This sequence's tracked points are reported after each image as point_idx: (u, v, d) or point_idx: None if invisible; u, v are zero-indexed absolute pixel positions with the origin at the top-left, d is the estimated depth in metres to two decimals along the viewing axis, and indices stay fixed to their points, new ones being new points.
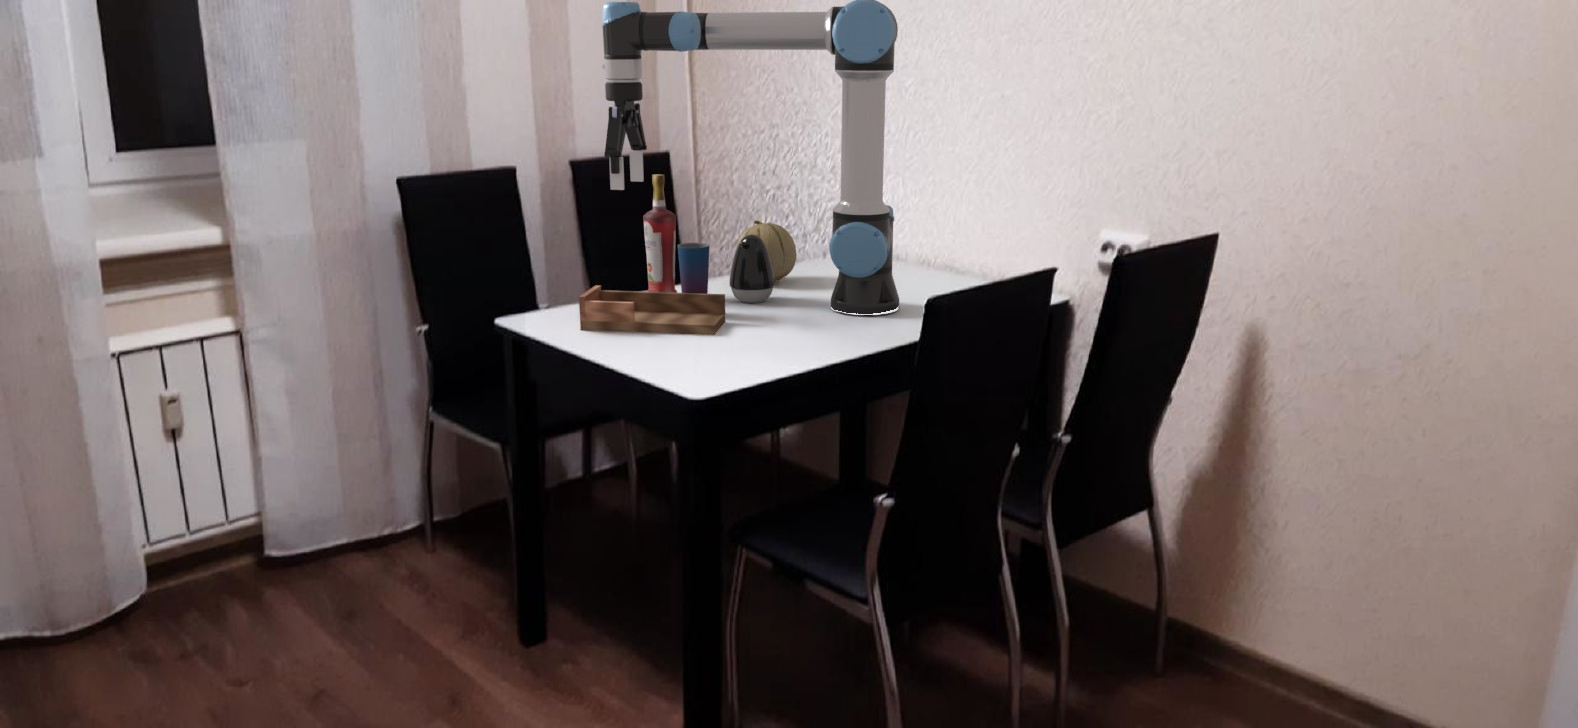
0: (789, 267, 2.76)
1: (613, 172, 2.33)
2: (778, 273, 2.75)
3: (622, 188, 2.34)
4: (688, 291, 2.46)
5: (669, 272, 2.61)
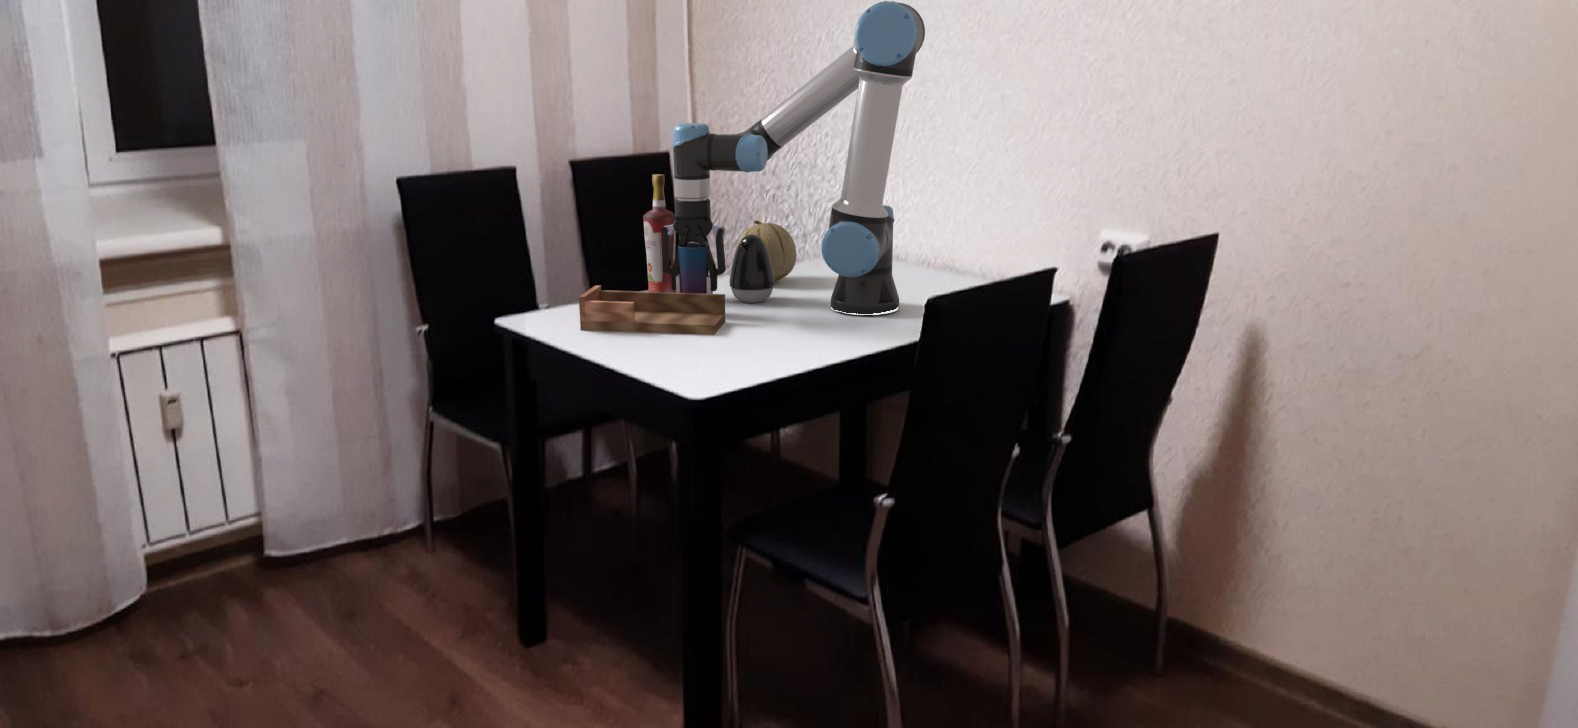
0: (789, 267, 2.76)
1: None
2: (778, 273, 2.75)
3: None
4: (688, 291, 2.46)
5: None
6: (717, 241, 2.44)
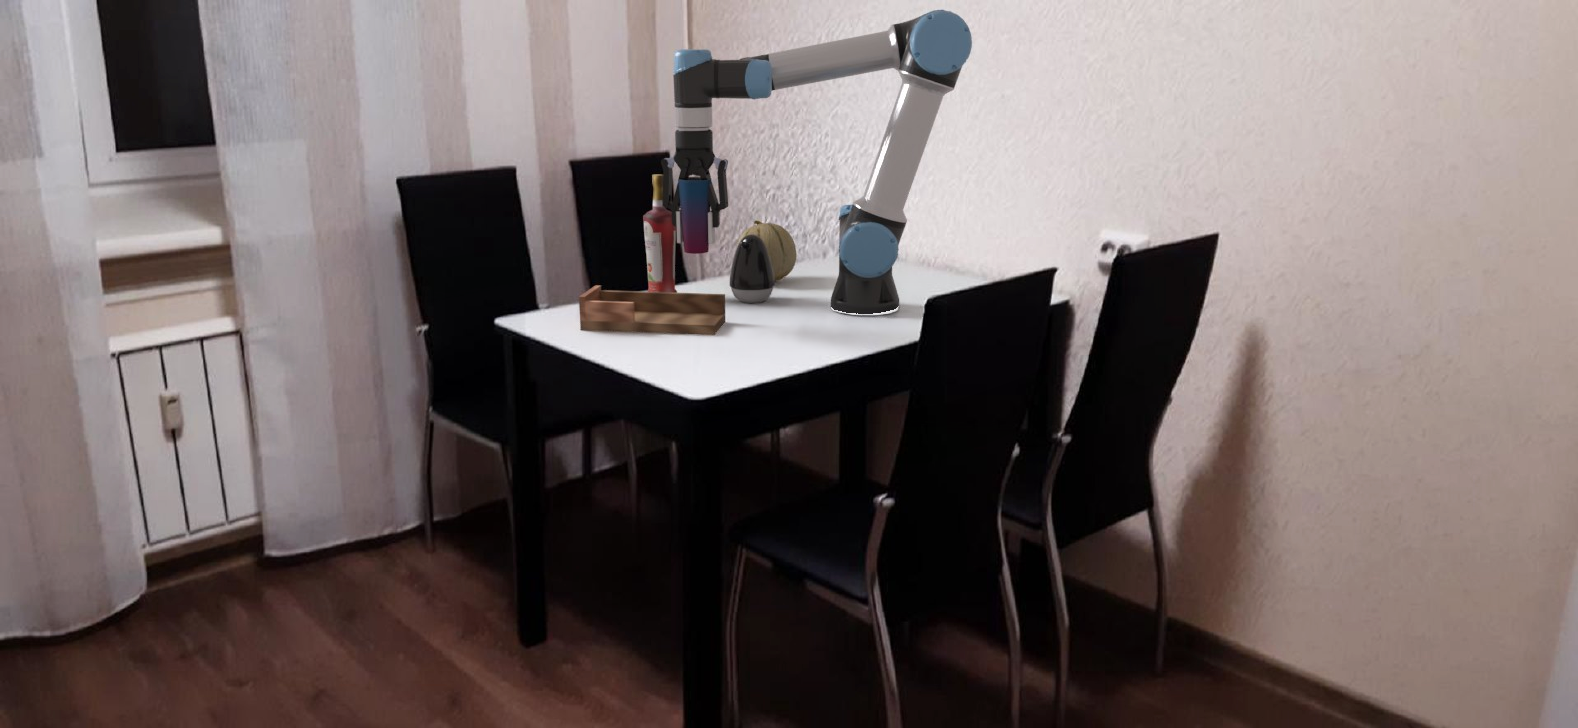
0: (789, 267, 2.76)
1: None
2: (778, 273, 2.75)
3: (677, 241, 2.38)
4: (688, 227, 2.35)
5: (669, 272, 2.61)
6: (719, 174, 2.32)
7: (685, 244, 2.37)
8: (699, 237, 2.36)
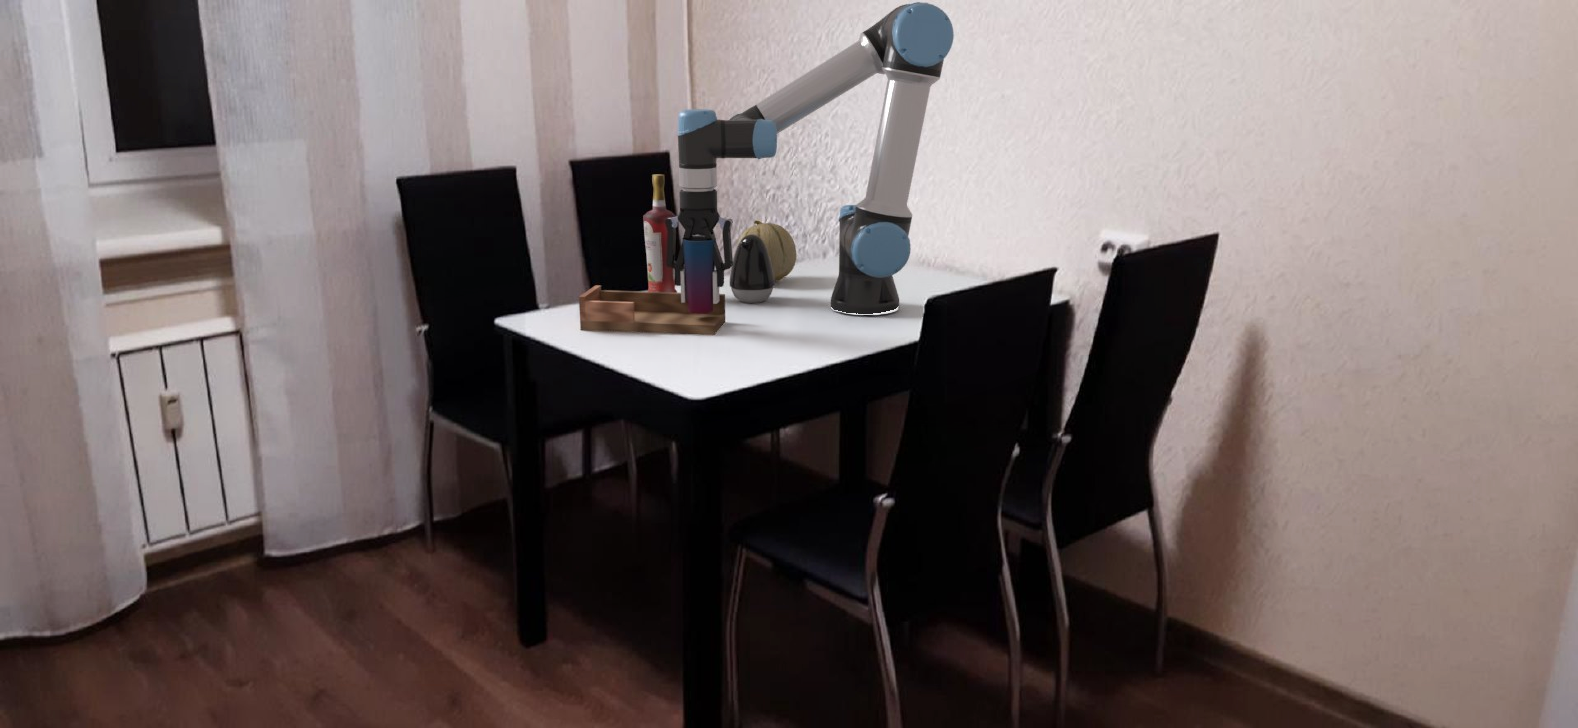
0: (789, 267, 2.76)
1: None
2: (778, 273, 2.75)
3: (681, 300, 2.36)
4: (693, 287, 2.33)
5: (669, 272, 2.61)
6: (724, 234, 2.31)
7: (689, 304, 2.35)
8: (704, 297, 2.34)
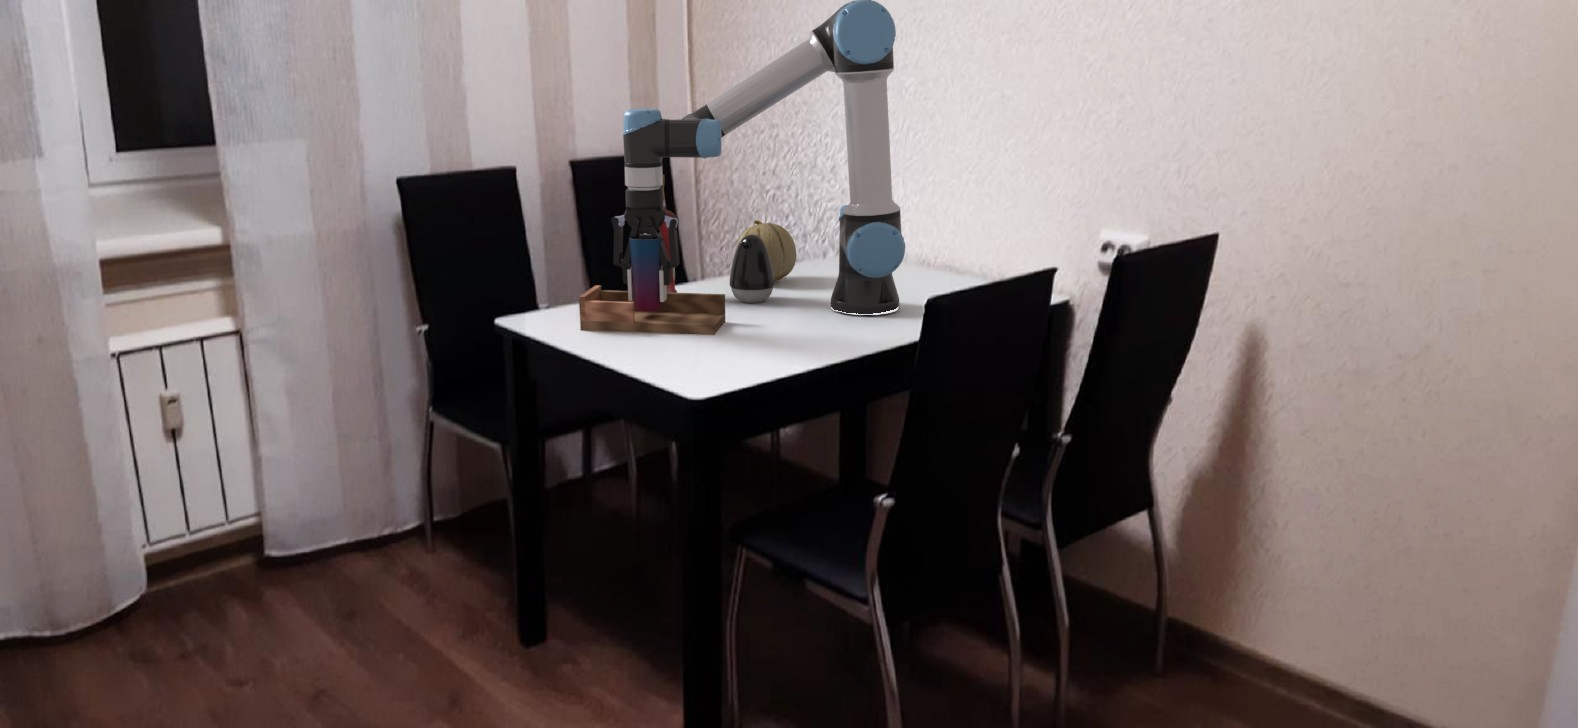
0: (789, 267, 2.76)
1: None
2: (778, 273, 2.75)
3: None
4: (640, 285, 2.35)
5: None
6: (670, 232, 2.33)
7: (637, 302, 2.37)
8: (651, 295, 2.36)
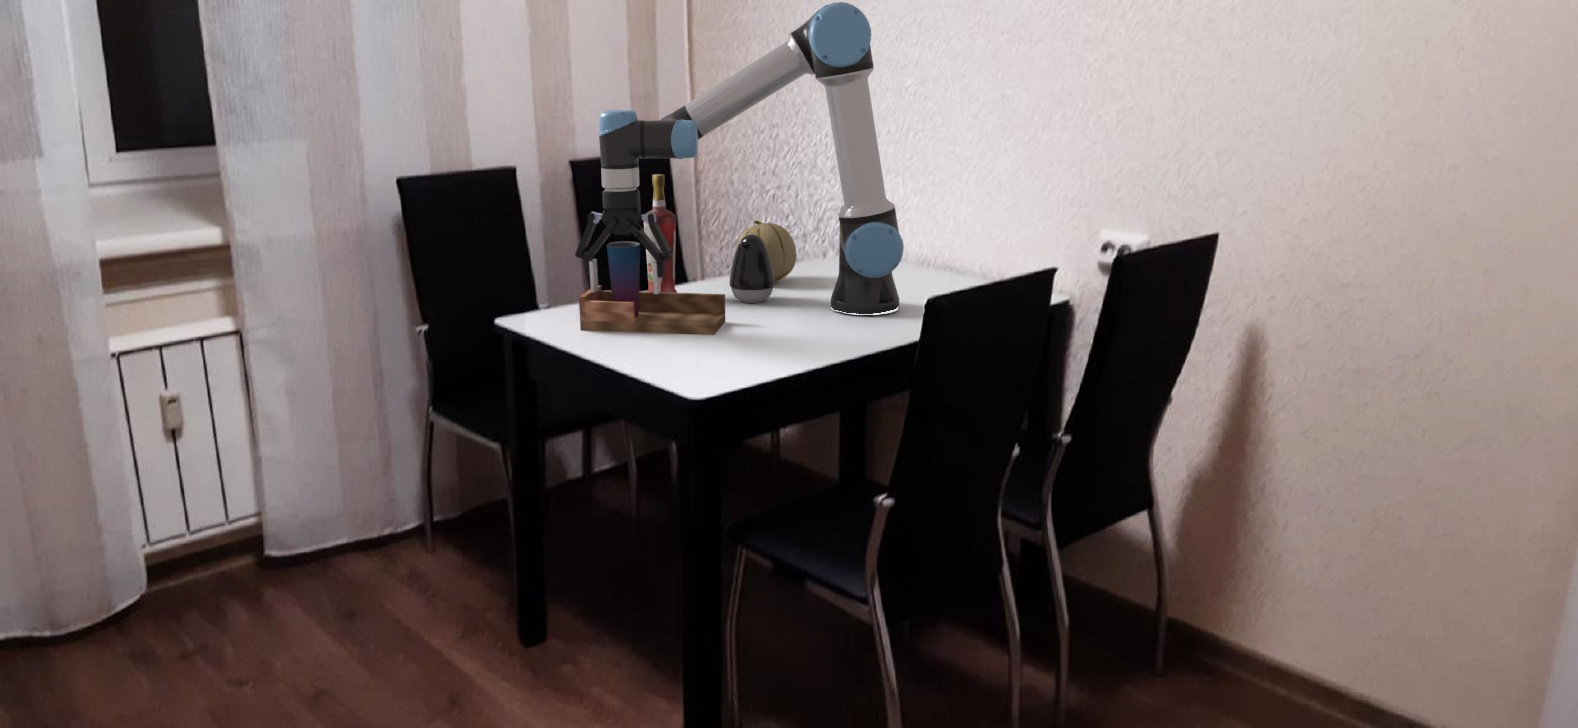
0: (789, 267, 2.76)
1: None
2: (778, 273, 2.75)
3: (591, 290, 2.39)
4: (618, 292, 2.36)
5: (669, 272, 2.61)
6: (652, 228, 2.33)
7: None
8: None
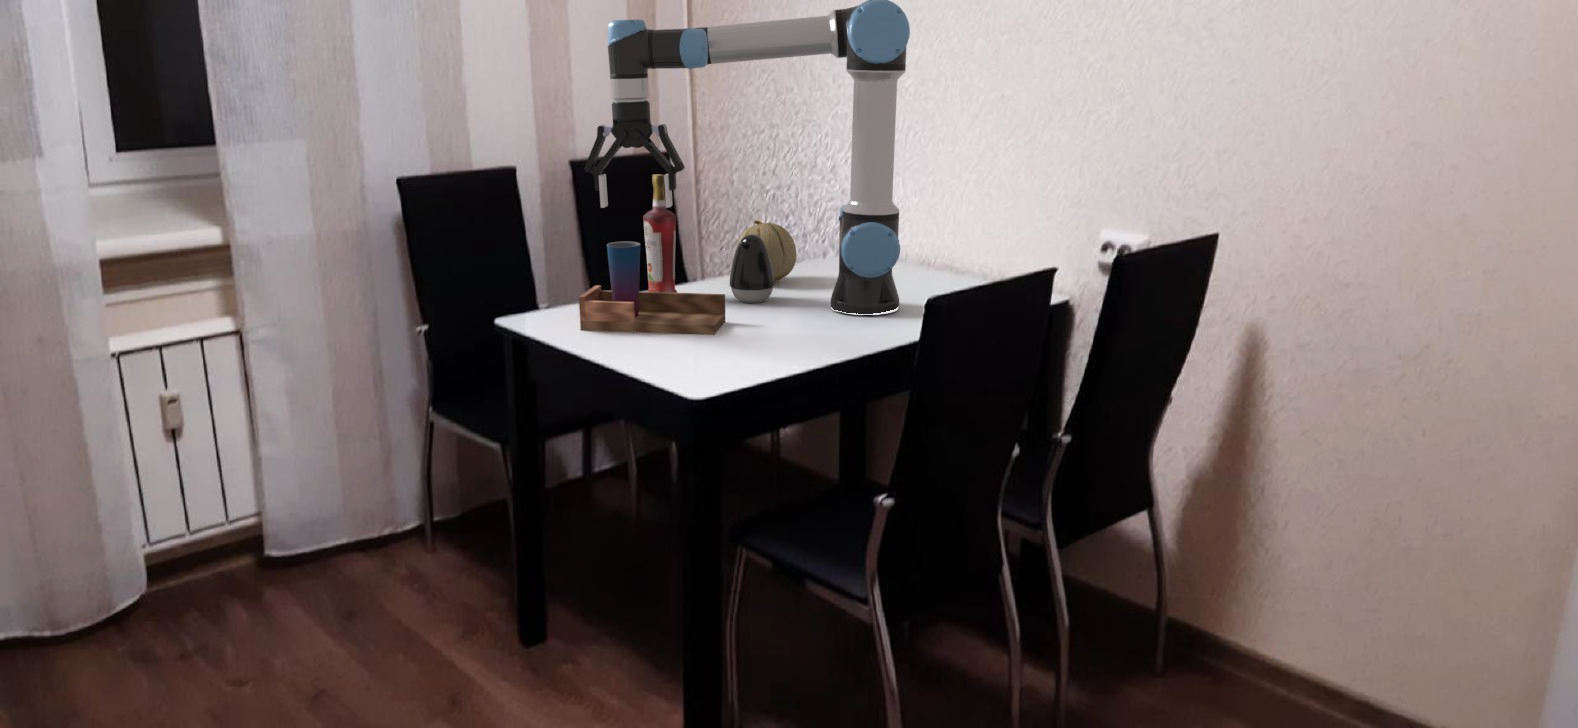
0: (789, 267, 2.76)
1: None
2: (778, 273, 2.75)
3: (601, 206, 2.36)
4: (618, 292, 2.36)
5: (669, 272, 2.61)
6: (662, 139, 2.30)
7: None
8: None
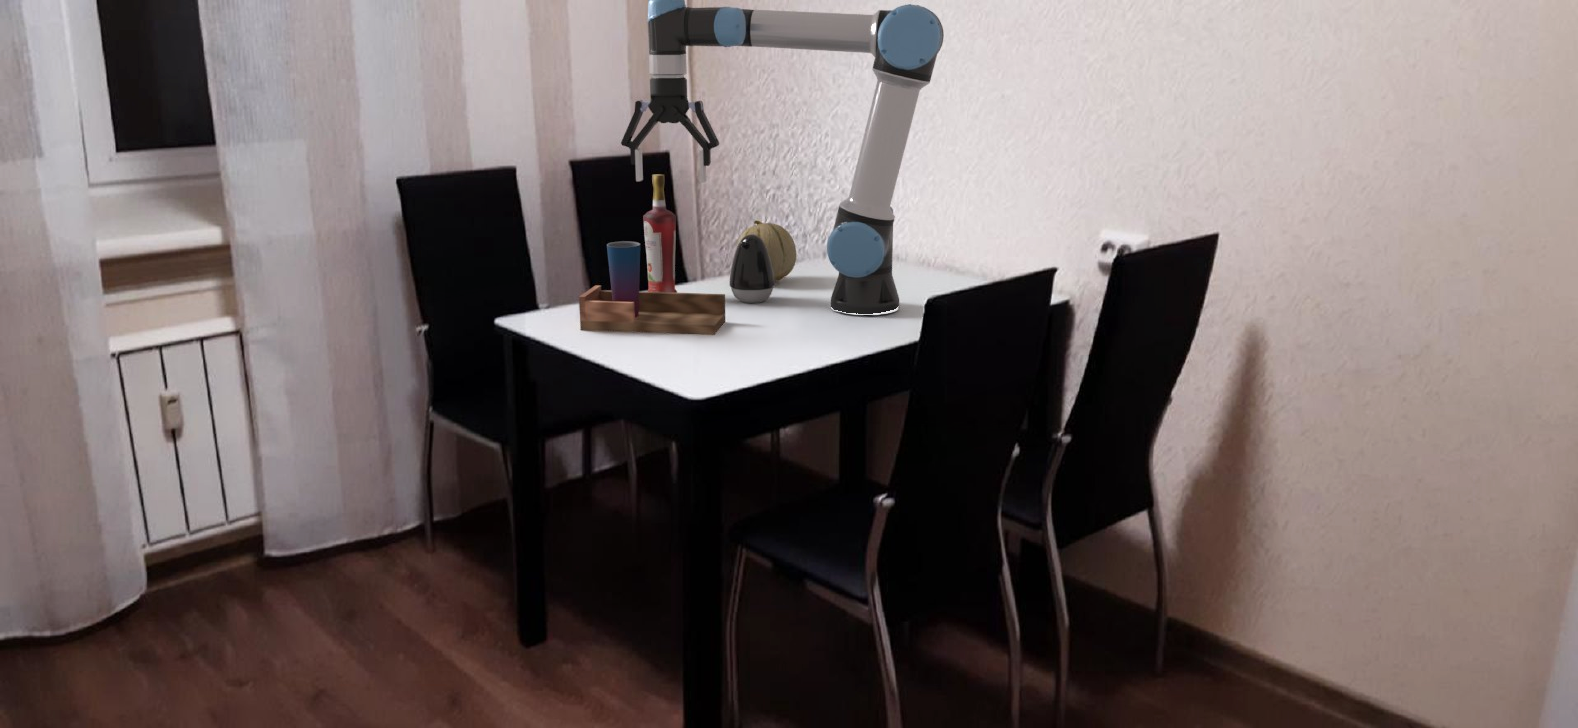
0: (789, 267, 2.76)
1: None
2: (778, 273, 2.75)
3: None
4: (618, 292, 2.36)
5: (669, 272, 2.61)
6: (698, 115, 2.35)
7: None
8: None
